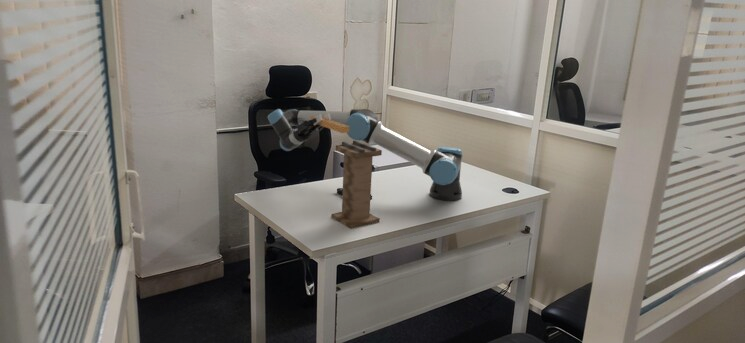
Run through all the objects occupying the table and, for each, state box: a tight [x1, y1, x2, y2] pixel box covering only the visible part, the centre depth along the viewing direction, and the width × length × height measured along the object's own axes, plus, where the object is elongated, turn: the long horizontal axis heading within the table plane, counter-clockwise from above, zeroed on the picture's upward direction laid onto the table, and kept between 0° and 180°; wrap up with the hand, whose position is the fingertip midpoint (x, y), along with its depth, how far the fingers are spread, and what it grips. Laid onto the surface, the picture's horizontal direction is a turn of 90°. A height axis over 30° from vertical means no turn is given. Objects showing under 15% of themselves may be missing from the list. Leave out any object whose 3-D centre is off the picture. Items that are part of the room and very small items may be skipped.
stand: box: [331, 139, 383, 230], centre depth 214 cm, size 14×14×31 cm
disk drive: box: [336, 187, 373, 201], centre depth 247 cm, size 10×3×15 cm
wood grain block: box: [311, 116, 349, 134], centre depth 224 cm, size 24×4×2 cm, turn 37°
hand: (325, 116), depth 226 cm, fingers closed on wood grain block, 3 cm apart
